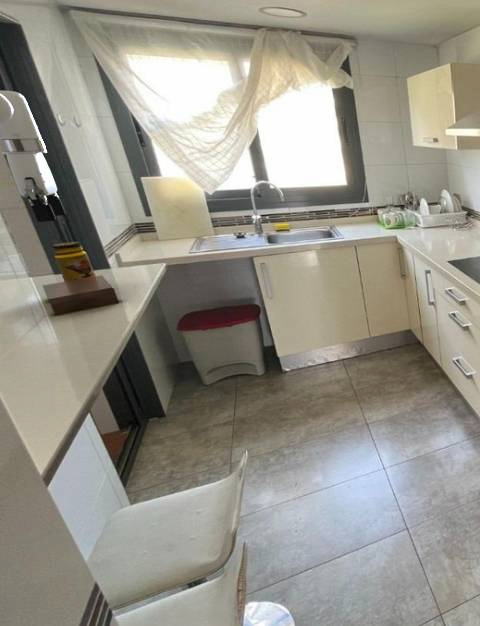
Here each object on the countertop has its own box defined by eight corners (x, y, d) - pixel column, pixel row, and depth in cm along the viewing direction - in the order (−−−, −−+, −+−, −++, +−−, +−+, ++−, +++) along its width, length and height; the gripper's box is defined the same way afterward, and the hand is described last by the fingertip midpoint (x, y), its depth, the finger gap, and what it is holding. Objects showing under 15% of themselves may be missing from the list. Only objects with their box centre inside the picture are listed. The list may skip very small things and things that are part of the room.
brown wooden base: (55, 315, 104) (47, 299, 102) (48, 300, 114) (42, 285, 112) (119, 302, 112) (113, 287, 110) (108, 289, 121) (102, 275, 120)
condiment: (93, 289, 122) (76, 244, 118) (51, 293, 119) (32, 248, 114) (105, 281, 128) (89, 239, 124) (65, 285, 125) (47, 242, 121)
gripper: (12, 146, 115) (42, 215, 122) (-14, 149, 102) (20, 225, 108) (54, 145, 119) (80, 212, 125) (33, 147, 106) (64, 221, 112)
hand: (52, 218), depth 117 cm, fingers open, 9 cm apart
